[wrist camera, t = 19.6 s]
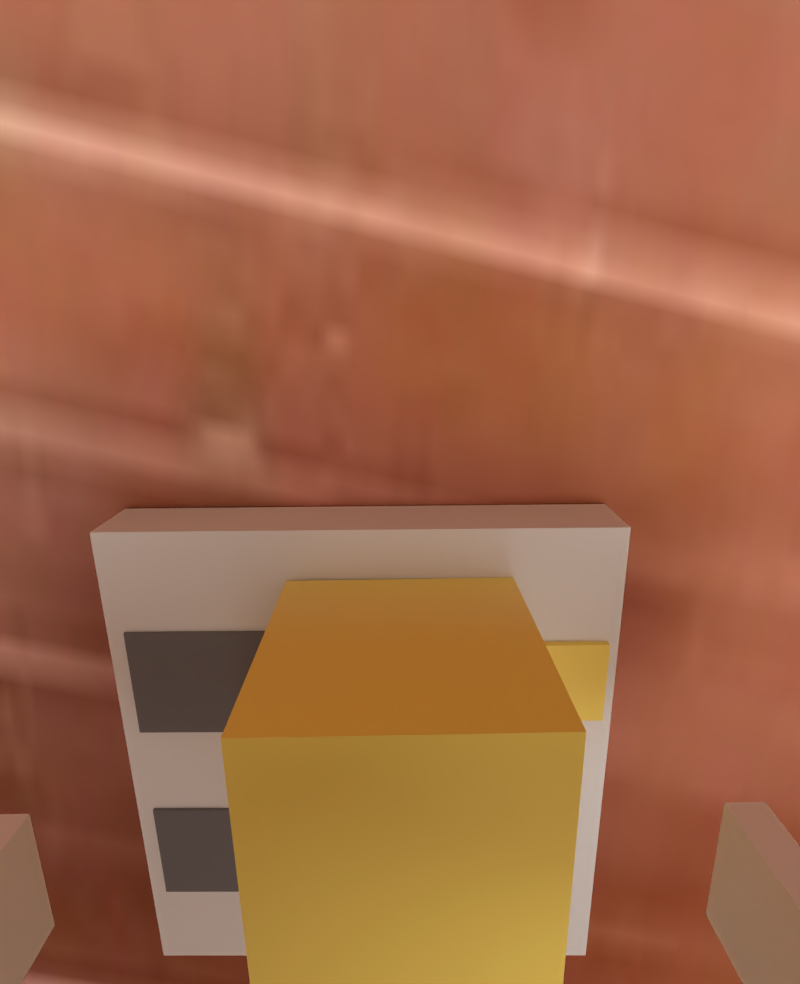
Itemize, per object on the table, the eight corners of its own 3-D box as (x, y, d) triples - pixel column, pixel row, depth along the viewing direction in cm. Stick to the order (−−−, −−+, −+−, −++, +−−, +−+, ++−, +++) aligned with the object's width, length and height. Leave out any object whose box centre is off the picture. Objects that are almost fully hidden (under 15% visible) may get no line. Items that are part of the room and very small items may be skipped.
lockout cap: (300, 768, 17) (251, 999, 11) (286, 580, 15) (220, 738, 9) (504, 764, 17) (562, 993, 11) (513, 577, 15) (586, 731, 9)
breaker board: (185, 897, 21) (161, 961, 19) (125, 508, 17) (85, 535, 15) (568, 897, 21) (587, 961, 19) (604, 504, 17) (633, 530, 15)
